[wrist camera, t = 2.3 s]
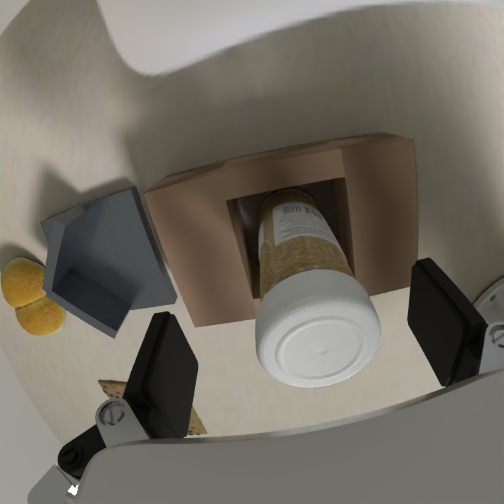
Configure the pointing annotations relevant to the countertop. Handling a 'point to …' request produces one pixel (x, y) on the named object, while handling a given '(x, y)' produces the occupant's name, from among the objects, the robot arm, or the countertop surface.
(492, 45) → the countertop surface
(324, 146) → the wooden block with hole
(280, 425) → the countertop surface
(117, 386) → the cookie
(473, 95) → the countertop surface
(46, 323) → the bread roll
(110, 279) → the v block
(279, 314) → the sprinkles bottle
